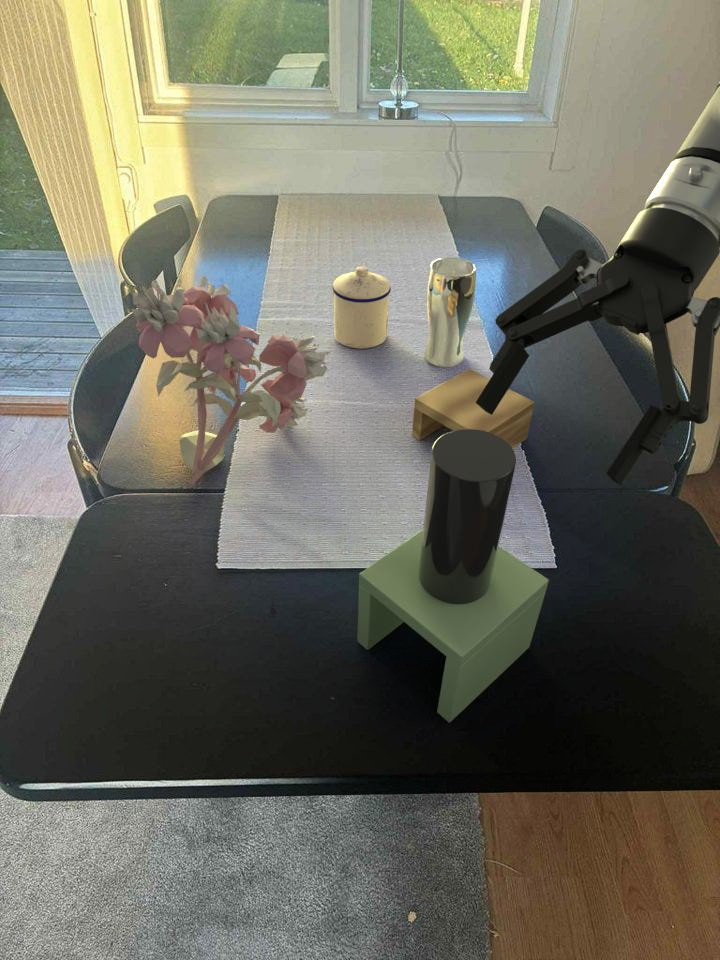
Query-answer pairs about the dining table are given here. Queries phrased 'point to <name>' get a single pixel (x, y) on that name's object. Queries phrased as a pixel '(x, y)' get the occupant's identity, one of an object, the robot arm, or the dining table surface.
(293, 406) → the flower
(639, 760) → the dining table surface
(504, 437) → the low shelf
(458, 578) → the dark grey cylinder
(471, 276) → the beer glass
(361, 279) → the teacup with lid
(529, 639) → the green step stool
